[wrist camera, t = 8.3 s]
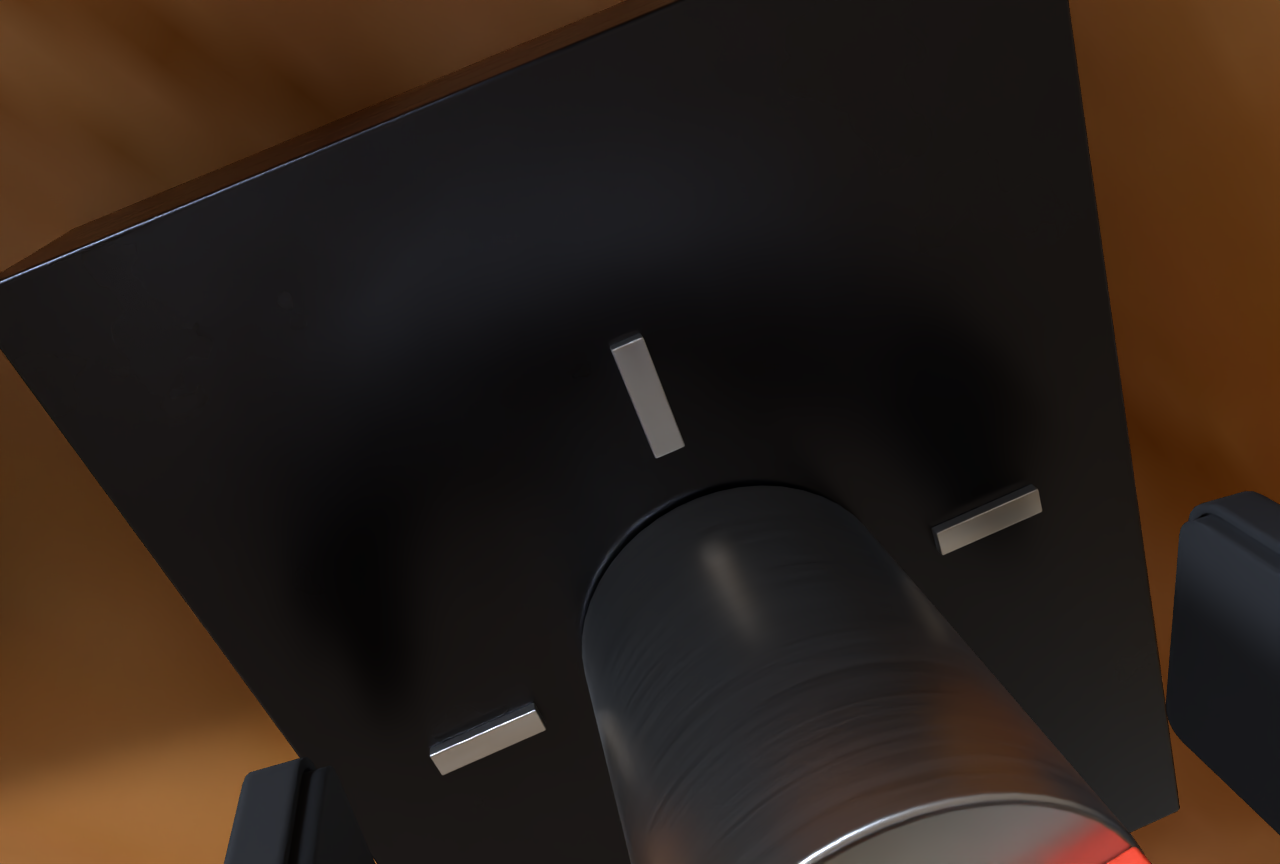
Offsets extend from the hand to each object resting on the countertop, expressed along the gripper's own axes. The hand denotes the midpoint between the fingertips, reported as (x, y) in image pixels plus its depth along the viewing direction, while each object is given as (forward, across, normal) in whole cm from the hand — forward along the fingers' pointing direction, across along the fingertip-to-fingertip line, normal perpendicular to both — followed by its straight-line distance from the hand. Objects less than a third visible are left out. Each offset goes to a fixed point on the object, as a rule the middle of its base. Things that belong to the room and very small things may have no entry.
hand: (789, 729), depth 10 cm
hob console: (+5, 0, 0) cm, 5 cm away
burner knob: (+2, 0, 0) cm, 2 cm away
